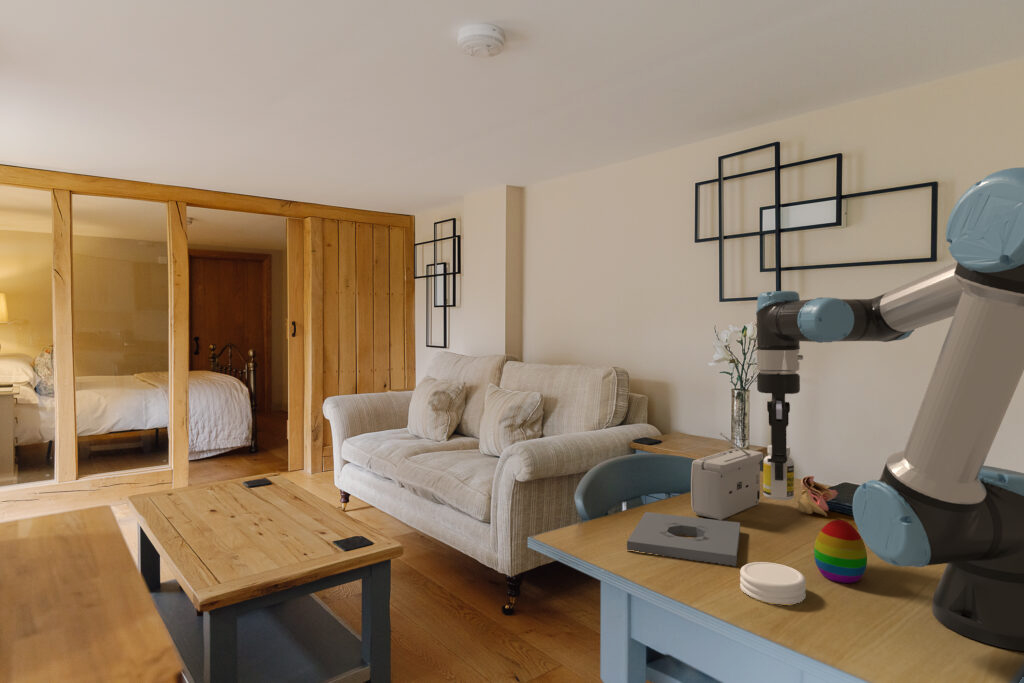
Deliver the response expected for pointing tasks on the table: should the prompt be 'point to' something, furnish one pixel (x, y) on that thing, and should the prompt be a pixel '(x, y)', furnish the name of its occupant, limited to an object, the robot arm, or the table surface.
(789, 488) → the supplement bottle
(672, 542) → the holder plate
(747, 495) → the stereo radio cassette player
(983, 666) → the table surface
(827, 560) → the decorative egg
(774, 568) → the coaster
